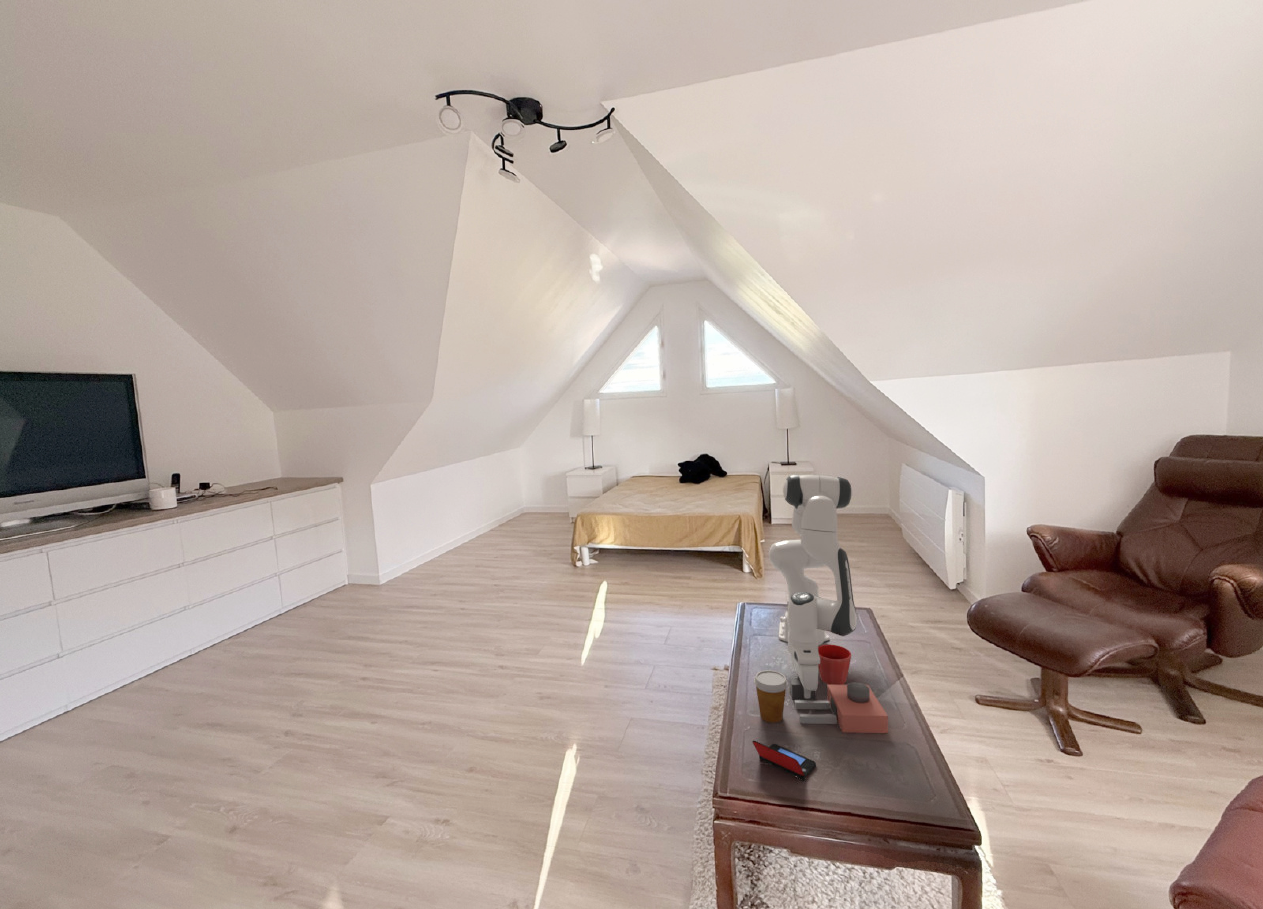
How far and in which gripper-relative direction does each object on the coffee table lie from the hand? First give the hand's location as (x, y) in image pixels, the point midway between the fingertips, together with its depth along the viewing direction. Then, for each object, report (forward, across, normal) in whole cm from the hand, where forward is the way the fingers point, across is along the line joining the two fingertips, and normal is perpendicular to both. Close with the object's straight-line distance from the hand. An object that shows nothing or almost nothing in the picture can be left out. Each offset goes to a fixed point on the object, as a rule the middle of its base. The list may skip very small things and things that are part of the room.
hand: (803, 689), depth 166 cm
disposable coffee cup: (+3, +11, -12) cm, 16 cm away
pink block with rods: (+2, +10, +7) cm, 12 cm away
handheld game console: (+3, +32, -12) cm, 34 cm away
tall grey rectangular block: (+3, 0, 0) cm, 3 cm away
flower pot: (+3, -10, +12) cm, 16 cm away
